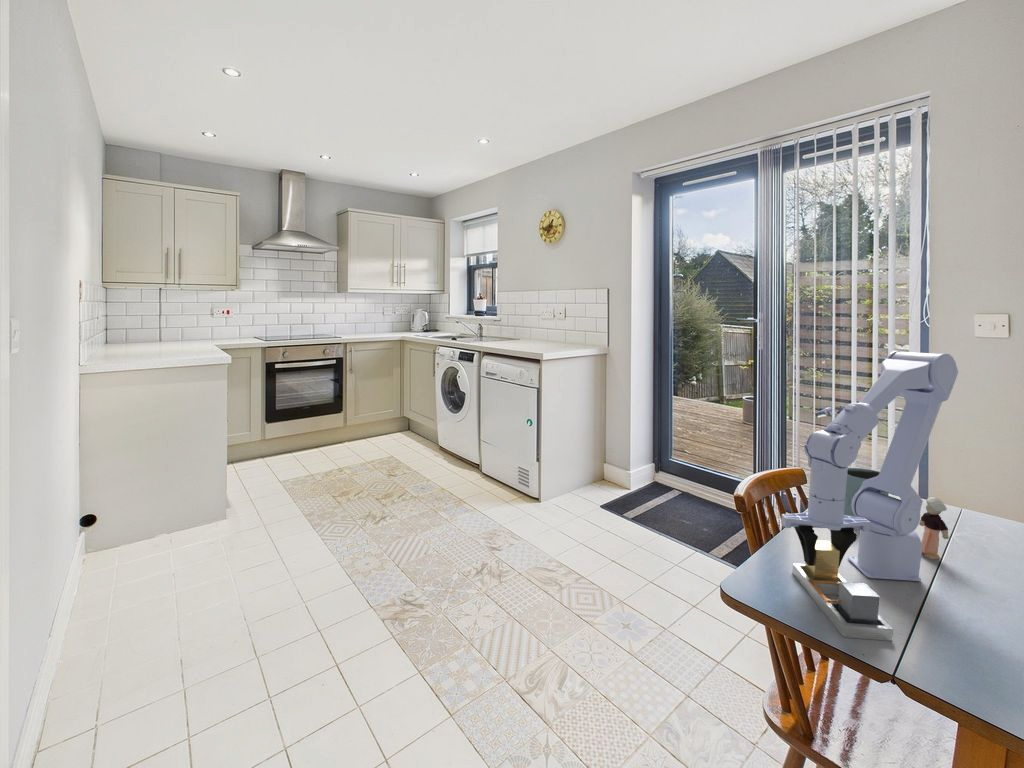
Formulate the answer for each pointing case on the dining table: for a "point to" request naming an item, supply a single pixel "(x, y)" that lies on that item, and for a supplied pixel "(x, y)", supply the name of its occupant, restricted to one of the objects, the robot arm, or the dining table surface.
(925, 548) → the grandmother figurine
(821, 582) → the zinc tray
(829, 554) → the golden block
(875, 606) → the gunmetal nut block
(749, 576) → the dining table surface
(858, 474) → the green pot
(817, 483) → the robot arm
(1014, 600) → the dining table surface
